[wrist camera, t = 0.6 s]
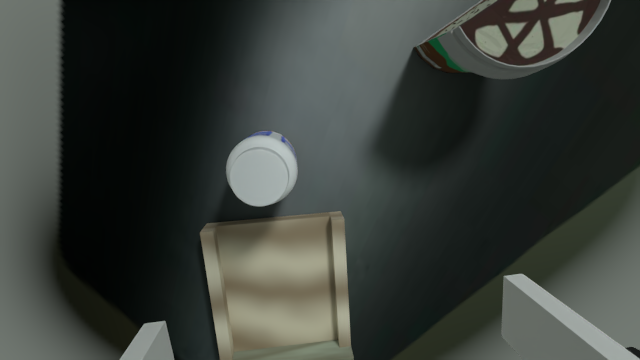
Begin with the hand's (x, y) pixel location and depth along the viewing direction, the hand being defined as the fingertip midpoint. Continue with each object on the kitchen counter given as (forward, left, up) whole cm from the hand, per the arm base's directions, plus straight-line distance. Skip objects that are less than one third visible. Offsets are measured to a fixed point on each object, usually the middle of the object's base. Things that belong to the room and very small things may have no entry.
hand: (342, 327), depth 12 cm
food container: (-13, +16, -21) cm, 29 cm away
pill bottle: (-4, -4, -21) cm, 21 cm away
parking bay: (+9, -4, -20) cm, 23 cm away
